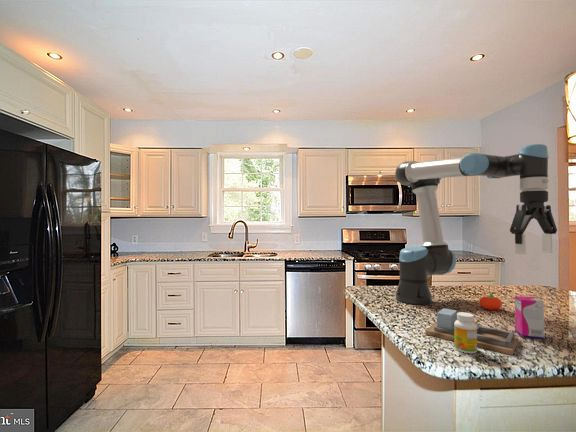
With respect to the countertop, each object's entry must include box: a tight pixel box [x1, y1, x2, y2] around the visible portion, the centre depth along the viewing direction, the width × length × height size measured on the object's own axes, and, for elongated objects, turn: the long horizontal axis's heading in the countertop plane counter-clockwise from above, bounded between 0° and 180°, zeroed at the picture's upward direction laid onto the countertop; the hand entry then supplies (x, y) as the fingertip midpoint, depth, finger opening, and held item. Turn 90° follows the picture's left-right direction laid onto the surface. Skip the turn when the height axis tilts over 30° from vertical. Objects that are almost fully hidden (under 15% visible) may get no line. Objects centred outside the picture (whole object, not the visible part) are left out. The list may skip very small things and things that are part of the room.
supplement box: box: [514, 295, 546, 340], centre depth 95 cm, size 6×6×12 cm
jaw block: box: [436, 308, 458, 331], centre depth 97 cm, size 4×7×5 cm, turn 138°
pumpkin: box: [478, 292, 503, 311], centre depth 123 cm, size 7×8×6 cm
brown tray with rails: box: [425, 321, 519, 356], centre depth 93 cm, size 22×13×3 cm, turn 48°
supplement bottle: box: [453, 311, 478, 355], centre depth 84 cm, size 5×5×10 cm
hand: (534, 253), depth 104 cm, fingers open, 13 cm apart
